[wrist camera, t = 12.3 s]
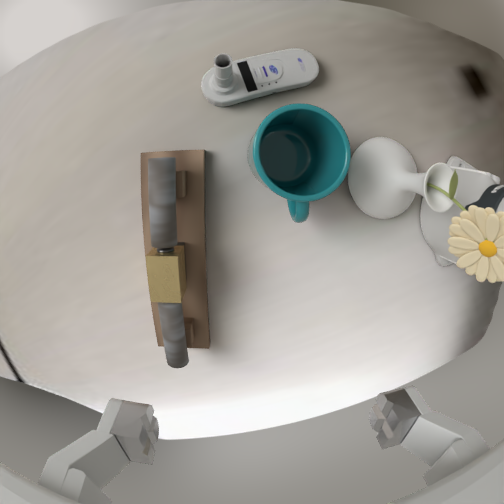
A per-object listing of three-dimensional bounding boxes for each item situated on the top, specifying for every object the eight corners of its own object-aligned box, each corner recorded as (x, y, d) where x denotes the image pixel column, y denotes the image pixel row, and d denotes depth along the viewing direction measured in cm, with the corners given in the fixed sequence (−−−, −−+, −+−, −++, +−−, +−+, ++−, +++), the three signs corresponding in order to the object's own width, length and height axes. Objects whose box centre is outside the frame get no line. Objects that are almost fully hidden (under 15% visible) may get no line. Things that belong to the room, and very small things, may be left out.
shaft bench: (205, 150, 33) (197, 146, 26) (210, 342, 41) (206, 374, 34) (144, 153, 32) (122, 151, 25) (160, 340, 41) (149, 371, 33)
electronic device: (347, 61, 22) (203, 92, 22) (318, 85, 31) (210, 113, 31) (328, 21, 20) (188, 48, 20) (305, 52, 30) (197, 78, 30)
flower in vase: (333, 145, 33) (481, 132, 10) (401, 132, 33) (546, 127, 9) (354, 237, 37) (480, 330, 14) (416, 216, 37) (547, 274, 13)
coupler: (183, 243, 32) (177, 253, 28) (186, 290, 34) (181, 305, 30) (155, 243, 32) (145, 253, 28) (159, 289, 34) (151, 304, 30)
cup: (254, 217, 36) (263, 240, 25) (242, 125, 32) (246, 106, 21) (321, 209, 36) (356, 228, 25) (312, 120, 32) (345, 102, 21)
